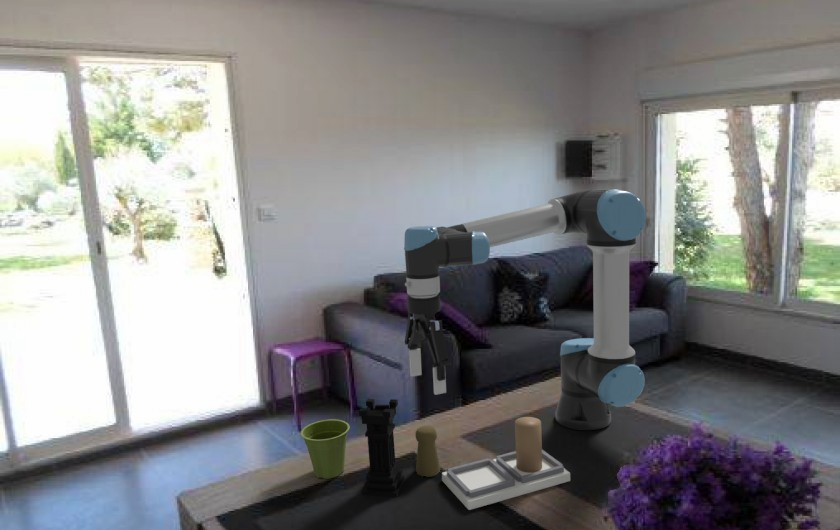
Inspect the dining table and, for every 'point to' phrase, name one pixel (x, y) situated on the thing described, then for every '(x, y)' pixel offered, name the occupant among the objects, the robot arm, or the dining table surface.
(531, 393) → the dining table surface
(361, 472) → the dining table surface
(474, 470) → the pin board
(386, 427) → the chess piece
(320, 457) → the plant pot
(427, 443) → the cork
